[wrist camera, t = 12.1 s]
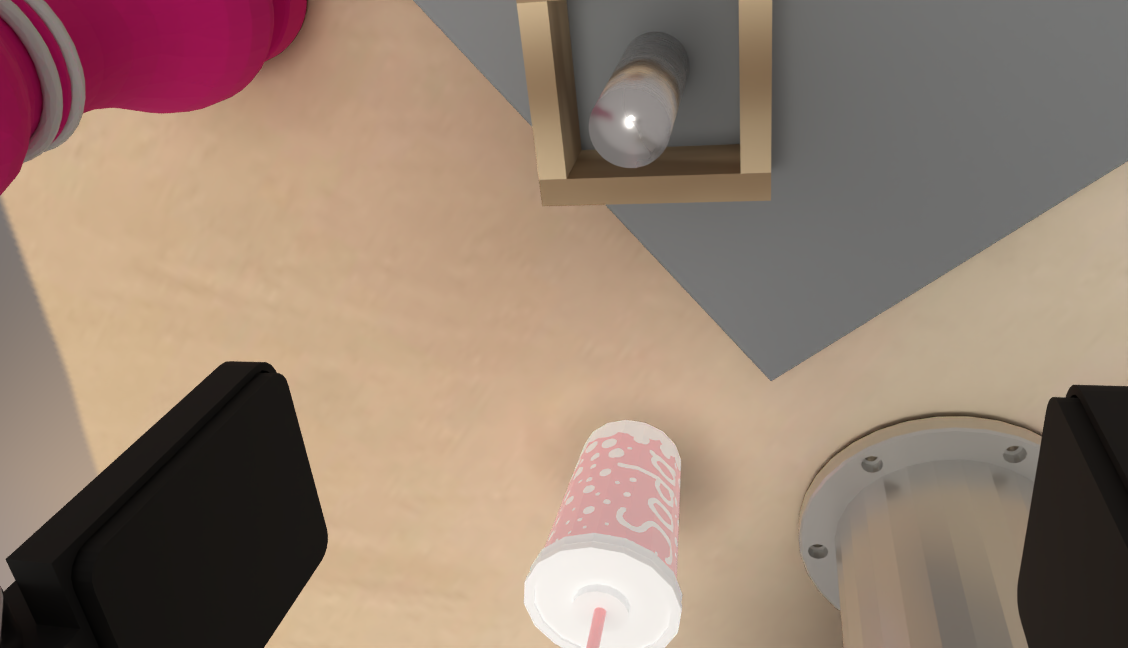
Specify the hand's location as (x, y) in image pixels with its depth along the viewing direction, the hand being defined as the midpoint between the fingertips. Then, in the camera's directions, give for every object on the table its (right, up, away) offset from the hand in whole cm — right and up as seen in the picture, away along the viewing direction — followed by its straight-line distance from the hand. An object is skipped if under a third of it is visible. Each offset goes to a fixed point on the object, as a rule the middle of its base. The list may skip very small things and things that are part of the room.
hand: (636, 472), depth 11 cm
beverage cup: (+2, -4, +31) cm, 31 cm away
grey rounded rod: (+2, +11, +22) cm, 24 cm away
